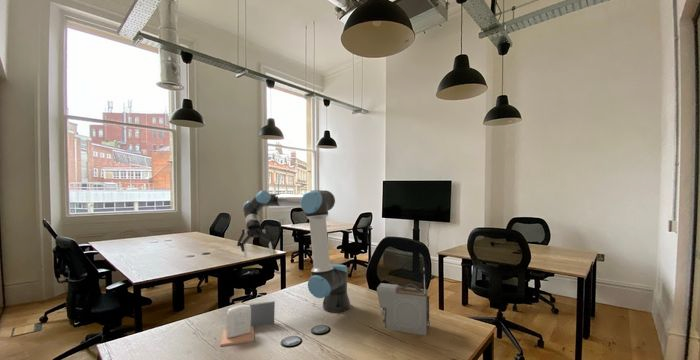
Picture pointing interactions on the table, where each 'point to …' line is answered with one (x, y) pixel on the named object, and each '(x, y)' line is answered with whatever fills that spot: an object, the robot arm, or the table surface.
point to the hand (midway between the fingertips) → (259, 254)
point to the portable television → (404, 307)
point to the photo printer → (238, 321)
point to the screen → (262, 313)
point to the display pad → (237, 338)
